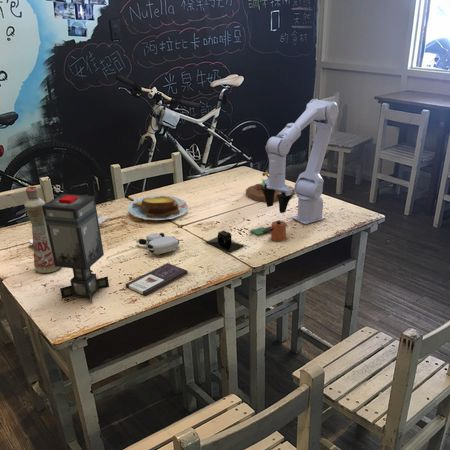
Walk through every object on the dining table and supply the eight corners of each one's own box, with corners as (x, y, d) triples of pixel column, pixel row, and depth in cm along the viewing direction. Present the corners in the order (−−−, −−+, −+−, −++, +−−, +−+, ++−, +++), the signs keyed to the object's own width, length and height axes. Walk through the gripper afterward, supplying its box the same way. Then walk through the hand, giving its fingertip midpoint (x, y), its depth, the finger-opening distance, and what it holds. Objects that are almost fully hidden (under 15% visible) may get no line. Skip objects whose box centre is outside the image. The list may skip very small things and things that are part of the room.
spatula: (281, 223, 198) (281, 221, 198) (288, 227, 194) (288, 225, 194) (250, 231, 192) (250, 229, 191) (257, 236, 188) (257, 234, 188)
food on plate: (179, 198, 225) (178, 184, 222) (197, 217, 205) (196, 202, 202) (122, 207, 217) (120, 192, 214) (135, 227, 198) (133, 211, 194)
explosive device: (80, 282, 160) (62, 190, 145) (109, 286, 158) (94, 193, 142) (62, 298, 152) (40, 202, 137) (92, 303, 149) (74, 205, 134)
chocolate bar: (187, 270, 163) (145, 292, 152) (187, 273, 164) (145, 295, 152) (167, 262, 168) (125, 283, 157) (167, 265, 169) (126, 286, 157)
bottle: (68, 263, 172) (51, 182, 158) (54, 275, 165) (35, 191, 151) (44, 261, 174) (26, 181, 160) (30, 273, 167) (9, 190, 152)
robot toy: (134, 248, 183) (154, 260, 172) (132, 236, 181) (152, 247, 170) (164, 239, 189) (185, 250, 178) (163, 228, 187) (184, 238, 176)
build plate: (244, 246, 181) (244, 234, 178) (229, 253, 176) (229, 241, 174) (219, 236, 188) (219, 225, 186) (205, 243, 184) (204, 231, 181)
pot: (279, 234, 189) (280, 217, 185) (288, 239, 185) (289, 221, 181) (258, 240, 185) (258, 223, 181) (266, 245, 181) (267, 227, 177)
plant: (238, 194, 227) (237, 170, 222) (268, 184, 239) (268, 160, 233) (271, 205, 215) (271, 179, 209) (301, 194, 226) (302, 169, 220)
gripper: (255, 169, 182) (255, 205, 189) (280, 179, 171) (279, 217, 178) (271, 166, 185) (271, 201, 192) (297, 175, 174) (295, 213, 181)
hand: (276, 209), depth 185 cm, fingers open, 7 cm apart
